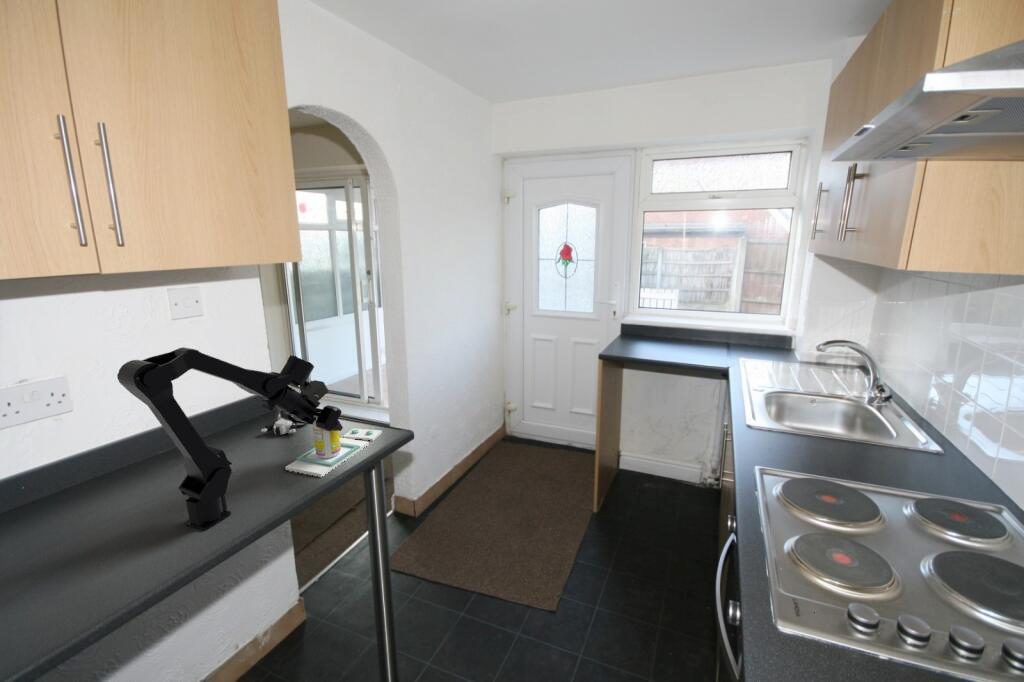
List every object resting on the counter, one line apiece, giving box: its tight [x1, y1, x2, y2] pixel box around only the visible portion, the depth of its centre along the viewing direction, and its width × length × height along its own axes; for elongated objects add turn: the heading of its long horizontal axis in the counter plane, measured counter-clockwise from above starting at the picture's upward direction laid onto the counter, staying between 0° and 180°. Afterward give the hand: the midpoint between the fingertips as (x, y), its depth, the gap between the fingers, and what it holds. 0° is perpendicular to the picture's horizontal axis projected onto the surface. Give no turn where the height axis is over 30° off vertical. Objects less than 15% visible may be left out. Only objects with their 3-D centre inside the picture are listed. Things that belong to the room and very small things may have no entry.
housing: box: [285, 437, 370, 478], centre depth 133 cm, size 20×12×2 cm, turn 160°
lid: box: [342, 428, 383, 442], centre depth 147 cm, size 6×10×1 cm, turn 78°
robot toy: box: [260, 413, 305, 435], centre depth 154 cm, size 12×4×15 cm
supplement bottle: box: [312, 412, 341, 458], centre depth 131 cm, size 7×7×13 cm
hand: (330, 426), depth 132 cm, fingers open, 9 cm apart
